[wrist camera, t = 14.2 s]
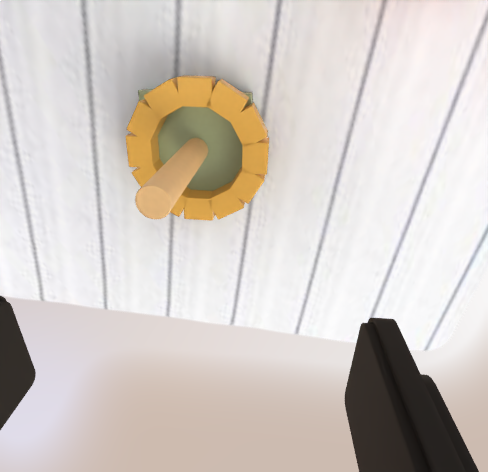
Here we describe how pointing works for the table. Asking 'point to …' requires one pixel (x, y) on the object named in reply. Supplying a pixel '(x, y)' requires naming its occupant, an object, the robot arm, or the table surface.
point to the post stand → (190, 157)
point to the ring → (226, 105)
